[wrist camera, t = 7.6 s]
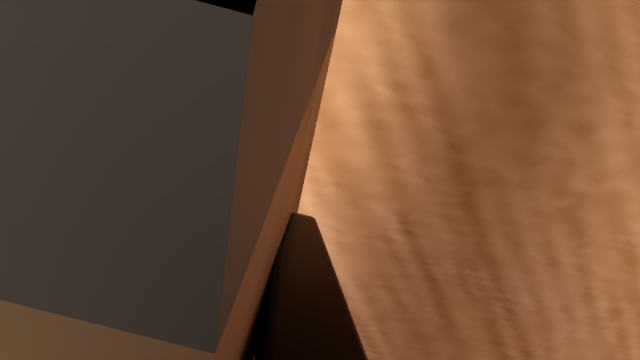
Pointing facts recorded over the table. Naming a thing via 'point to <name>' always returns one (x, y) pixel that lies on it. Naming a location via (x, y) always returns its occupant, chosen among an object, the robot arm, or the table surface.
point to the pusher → (151, 170)
